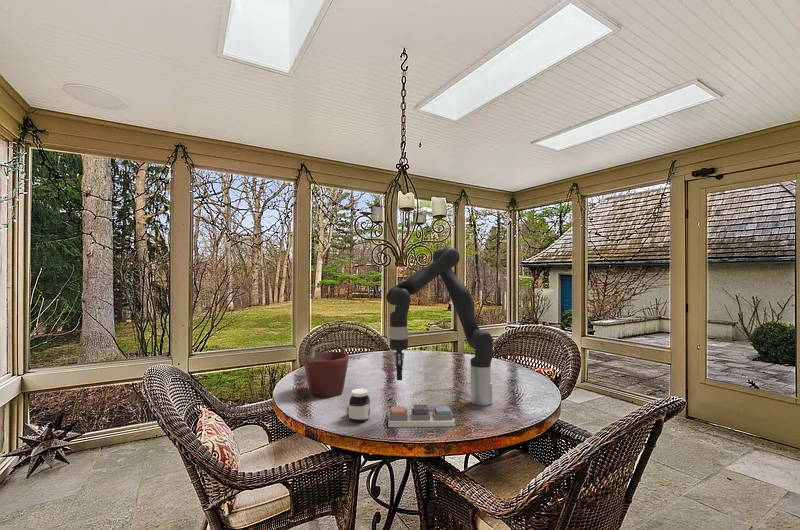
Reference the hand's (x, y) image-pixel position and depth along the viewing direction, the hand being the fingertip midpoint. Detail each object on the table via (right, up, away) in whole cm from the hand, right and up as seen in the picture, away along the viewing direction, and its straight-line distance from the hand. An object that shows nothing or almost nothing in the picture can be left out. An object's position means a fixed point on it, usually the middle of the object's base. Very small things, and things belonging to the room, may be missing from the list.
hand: (399, 379), depth 156 cm
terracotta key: (0, -14, -1) cm, 14 cm away
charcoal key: (+9, -13, -1) cm, 16 cm away
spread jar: (-18, -17, +4) cm, 25 cm away
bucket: (-37, -18, +38) cm, 56 cm away
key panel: (+9, -17, -1) cm, 19 cm away
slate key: (+18, -14, 0) cm, 23 cm away
